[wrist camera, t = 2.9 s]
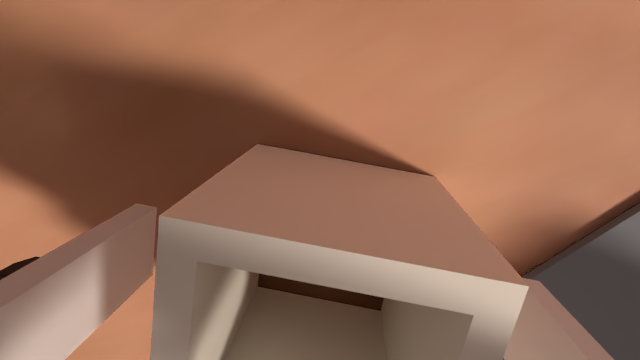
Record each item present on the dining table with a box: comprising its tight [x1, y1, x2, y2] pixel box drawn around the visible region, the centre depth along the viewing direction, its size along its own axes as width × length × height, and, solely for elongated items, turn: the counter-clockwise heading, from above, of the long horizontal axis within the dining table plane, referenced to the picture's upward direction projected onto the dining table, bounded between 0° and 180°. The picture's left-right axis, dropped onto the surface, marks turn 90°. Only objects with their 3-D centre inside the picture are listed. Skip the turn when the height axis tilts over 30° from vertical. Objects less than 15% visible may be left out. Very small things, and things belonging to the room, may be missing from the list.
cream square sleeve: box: [150, 144, 529, 360], centre depth 12 cm, size 7×7×8 cm
